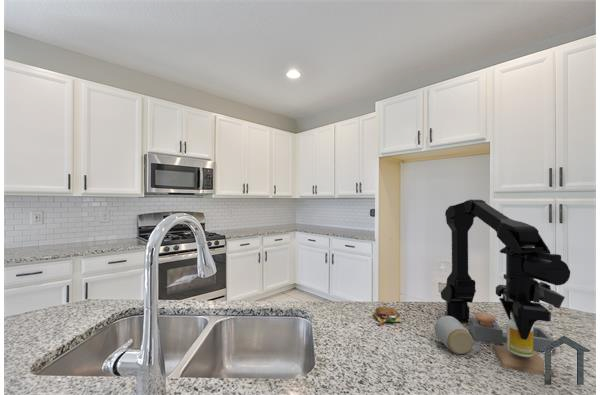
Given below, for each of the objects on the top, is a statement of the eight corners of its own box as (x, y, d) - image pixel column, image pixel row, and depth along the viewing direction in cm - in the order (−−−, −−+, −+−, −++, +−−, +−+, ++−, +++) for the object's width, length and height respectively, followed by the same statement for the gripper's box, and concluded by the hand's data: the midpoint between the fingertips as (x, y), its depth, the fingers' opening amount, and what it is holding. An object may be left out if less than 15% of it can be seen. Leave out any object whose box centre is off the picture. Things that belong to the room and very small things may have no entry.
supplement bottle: (538, 358, 69) (538, 319, 69) (513, 356, 70) (514, 317, 70) (525, 347, 74) (525, 311, 74) (502, 345, 75) (503, 309, 75)
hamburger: (359, 314, 103) (359, 297, 103) (396, 313, 104) (396, 296, 104) (372, 331, 89) (372, 312, 89) (414, 330, 90) (414, 311, 90)
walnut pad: (503, 367, 69) (503, 363, 69) (491, 347, 78) (491, 344, 78) (553, 376, 65) (553, 372, 65) (535, 355, 75) (535, 351, 75)
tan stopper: (477, 336, 83) (477, 317, 84) (473, 328, 88) (473, 311, 88) (497, 339, 82) (497, 320, 82) (492, 331, 86) (492, 313, 86)
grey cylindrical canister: (447, 356, 74) (448, 327, 74) (433, 340, 82) (434, 314, 82) (488, 357, 74) (488, 328, 74) (470, 342, 82) (470, 316, 82)
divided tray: (475, 341, 82) (475, 327, 82) (469, 328, 90) (469, 316, 90) (555, 354, 75) (555, 339, 75) (541, 339, 83) (541, 326, 83)
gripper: (580, 287, 61) (580, 359, 60) (542, 268, 78) (542, 324, 78) (518, 282, 65) (518, 349, 65) (495, 264, 82) (495, 318, 82)
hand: (519, 333), depth 72 cm, fingers closed on supplement bottle, 5 cm apart
